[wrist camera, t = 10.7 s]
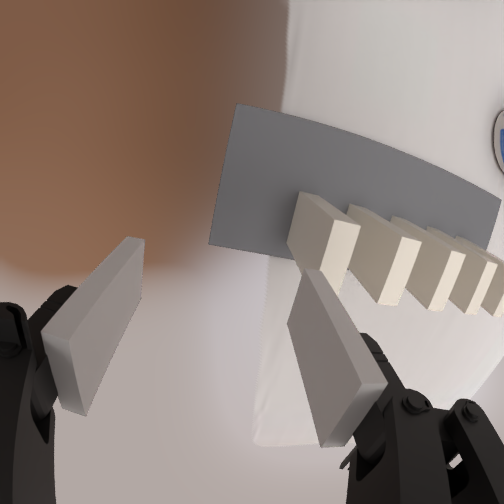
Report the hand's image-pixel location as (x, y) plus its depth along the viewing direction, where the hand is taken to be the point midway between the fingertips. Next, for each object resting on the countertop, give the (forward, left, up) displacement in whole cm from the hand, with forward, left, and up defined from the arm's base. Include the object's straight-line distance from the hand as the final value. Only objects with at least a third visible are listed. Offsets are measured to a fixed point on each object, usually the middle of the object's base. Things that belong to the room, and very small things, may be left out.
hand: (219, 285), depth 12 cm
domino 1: (0, +7, -16) cm, 17 cm away
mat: (-2, +16, -16) cm, 23 cm away
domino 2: (0, +12, -16) cm, 20 cm away
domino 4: (0, +22, -16) cm, 27 cm away
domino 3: (0, +17, -16) cm, 23 cm away
